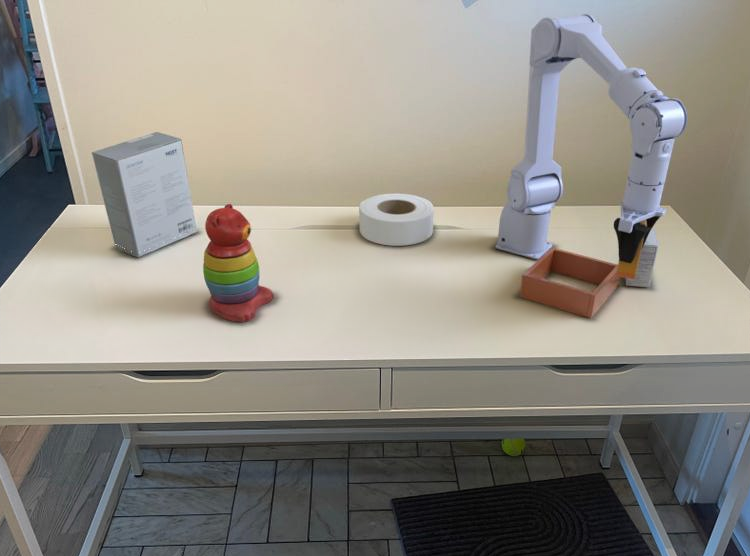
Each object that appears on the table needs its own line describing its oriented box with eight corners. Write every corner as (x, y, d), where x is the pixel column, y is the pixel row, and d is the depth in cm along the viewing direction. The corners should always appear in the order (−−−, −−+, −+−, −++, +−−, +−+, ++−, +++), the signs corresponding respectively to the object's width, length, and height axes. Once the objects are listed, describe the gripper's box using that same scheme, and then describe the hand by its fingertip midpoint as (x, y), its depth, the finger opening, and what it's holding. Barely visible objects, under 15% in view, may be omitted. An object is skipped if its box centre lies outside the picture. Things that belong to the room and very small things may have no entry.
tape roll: (366, 213, 160) (365, 190, 157) (436, 218, 159) (437, 194, 155) (352, 243, 147) (351, 218, 144) (428, 249, 146) (429, 223, 143)
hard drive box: (174, 223, 155) (158, 130, 143) (198, 232, 151) (183, 138, 140) (113, 248, 144) (90, 150, 133) (137, 259, 140) (116, 159, 129)
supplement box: (636, 271, 125) (648, 217, 119) (634, 280, 122) (647, 225, 116) (616, 268, 125) (627, 215, 120) (614, 277, 123) (626, 222, 117)
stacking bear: (247, 324, 121) (234, 226, 111) (195, 313, 124) (179, 217, 114) (278, 295, 129) (269, 202, 119) (229, 285, 132) (216, 193, 122)
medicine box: (649, 288, 133) (659, 246, 128) (624, 286, 134) (633, 243, 129) (646, 269, 140) (655, 228, 135) (622, 267, 140) (631, 226, 135)
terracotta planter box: (519, 296, 130) (522, 274, 128) (549, 268, 140) (552, 247, 137) (591, 318, 124) (595, 295, 122) (616, 287, 134) (621, 265, 131)
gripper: (658, 199, 107) (639, 279, 115) (683, 171, 117) (665, 247, 125) (612, 189, 110) (597, 268, 118) (641, 163, 120) (625, 237, 128)
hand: (629, 256), depth 122 cm, fingers closed on supplement box, 3 cm apart
